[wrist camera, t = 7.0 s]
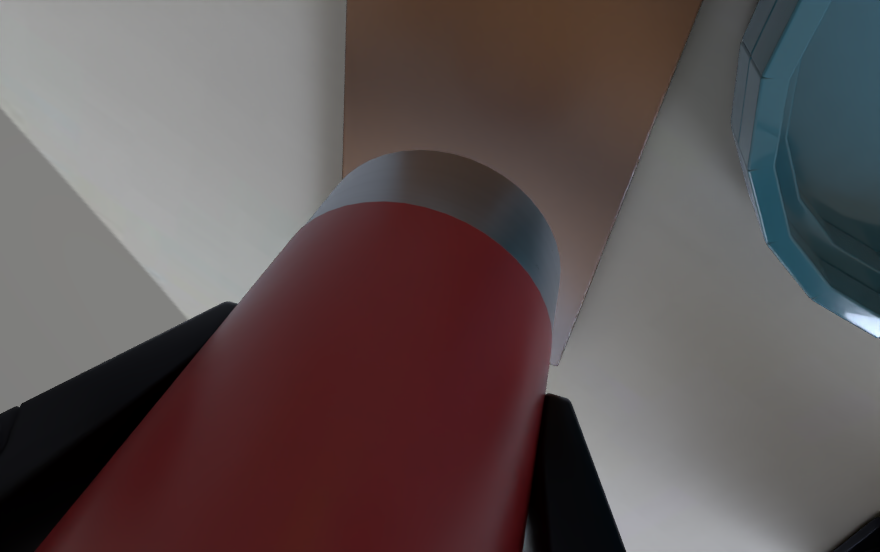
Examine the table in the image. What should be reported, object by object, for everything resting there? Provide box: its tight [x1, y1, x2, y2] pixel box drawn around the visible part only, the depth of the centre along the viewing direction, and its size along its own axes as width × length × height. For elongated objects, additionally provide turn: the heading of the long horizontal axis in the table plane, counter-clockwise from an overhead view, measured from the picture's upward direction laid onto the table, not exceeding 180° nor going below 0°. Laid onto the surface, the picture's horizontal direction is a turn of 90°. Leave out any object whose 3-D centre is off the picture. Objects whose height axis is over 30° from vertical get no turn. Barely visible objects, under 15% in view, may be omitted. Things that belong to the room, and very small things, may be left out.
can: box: [34, 150, 561, 552], centre depth 8 cm, size 5×5×10 cm
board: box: [342, 0, 703, 366], centre depth 18 cm, size 17×9×1 cm, turn 172°
